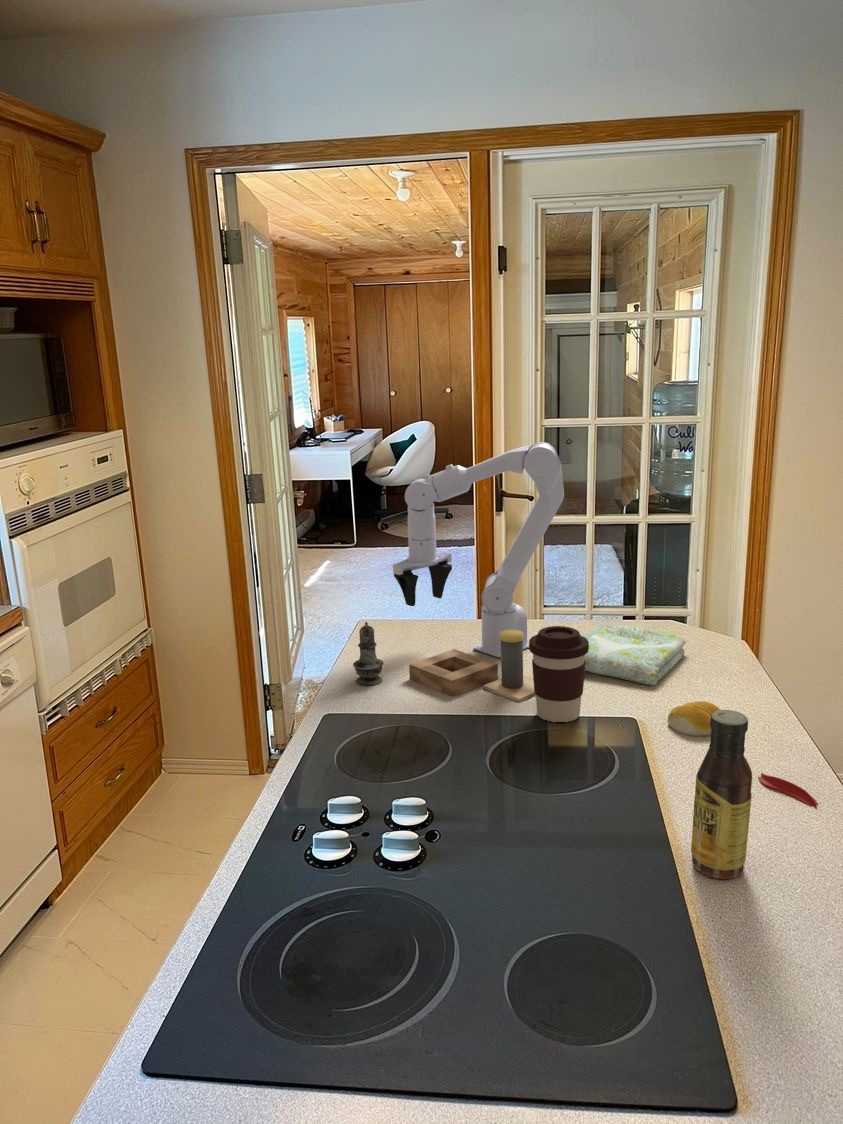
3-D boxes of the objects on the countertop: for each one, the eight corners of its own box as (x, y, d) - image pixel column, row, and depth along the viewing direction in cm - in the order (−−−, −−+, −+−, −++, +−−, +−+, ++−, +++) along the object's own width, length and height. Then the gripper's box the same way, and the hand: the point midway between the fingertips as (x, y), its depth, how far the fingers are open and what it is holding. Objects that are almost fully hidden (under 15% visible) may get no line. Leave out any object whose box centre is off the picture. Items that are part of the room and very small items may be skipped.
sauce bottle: (682, 854, 105) (689, 704, 101) (731, 850, 106) (740, 701, 101) (703, 886, 99) (712, 728, 94) (755, 882, 100) (766, 724, 95)
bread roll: (734, 727, 140) (736, 705, 139) (698, 742, 135) (699, 719, 134) (694, 711, 147) (695, 689, 146) (658, 724, 142) (659, 702, 141)
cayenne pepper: (747, 774, 125) (748, 762, 125) (777, 771, 126) (777, 759, 125) (794, 817, 114) (795, 804, 113) (826, 813, 114) (828, 800, 114)
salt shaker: (386, 675, 167) (383, 616, 164) (382, 686, 162) (379, 626, 159) (356, 675, 168) (353, 616, 165) (351, 686, 162) (348, 626, 159)
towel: (688, 655, 174) (689, 631, 173) (653, 690, 157) (654, 664, 155) (603, 641, 184) (604, 618, 182) (562, 672, 167) (562, 648, 165)
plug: (505, 679, 162) (504, 628, 159) (527, 681, 160) (526, 631, 157) (497, 687, 158) (496, 635, 155) (519, 690, 156) (519, 638, 154)
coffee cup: (593, 708, 149) (595, 626, 145) (579, 731, 140) (580, 644, 137) (539, 700, 153) (539, 620, 149) (521, 722, 144) (521, 637, 141)
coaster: (516, 675, 165) (516, 672, 165) (552, 687, 158) (552, 684, 158) (483, 688, 159) (483, 685, 159) (519, 701, 152) (519, 698, 152)
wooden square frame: (454, 663, 172) (454, 649, 172) (497, 678, 164) (497, 663, 163) (409, 679, 165) (409, 664, 164) (452, 696, 156) (452, 680, 155)
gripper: (435, 529, 184) (436, 590, 187) (382, 541, 174) (385, 604, 178) (457, 534, 178) (459, 596, 182) (404, 546, 169) (407, 611, 172)
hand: (424, 601), depth 179 cm, fingers open, 7 cm apart
